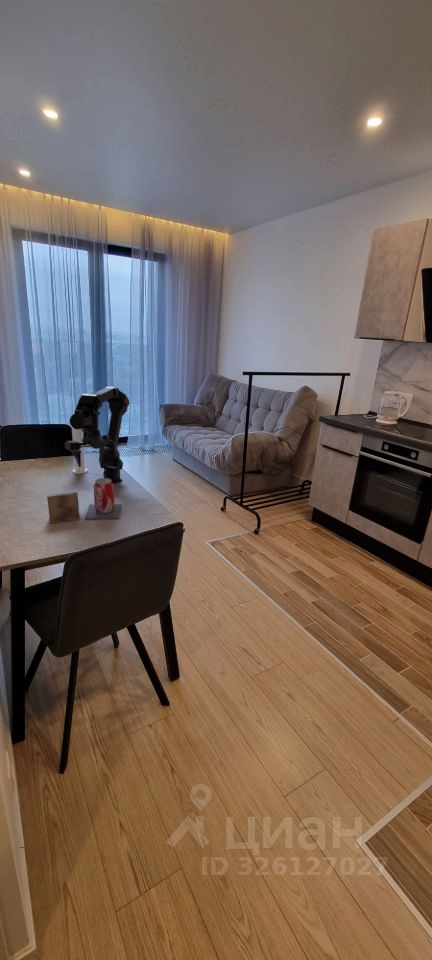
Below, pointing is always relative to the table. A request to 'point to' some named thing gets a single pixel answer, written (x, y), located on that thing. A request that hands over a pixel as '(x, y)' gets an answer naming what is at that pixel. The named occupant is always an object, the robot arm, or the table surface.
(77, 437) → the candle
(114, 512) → the charcoal mat
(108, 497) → the soda can
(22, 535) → the table surface
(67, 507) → the walnut screen
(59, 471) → the table surface
